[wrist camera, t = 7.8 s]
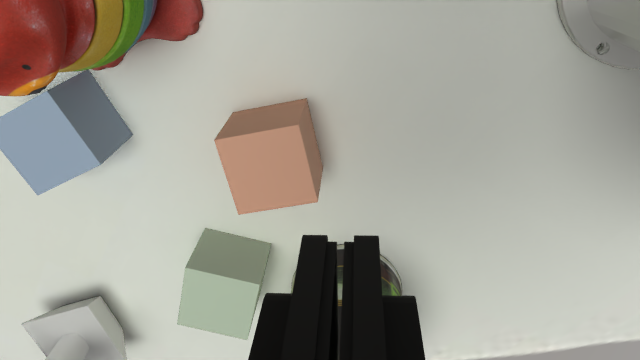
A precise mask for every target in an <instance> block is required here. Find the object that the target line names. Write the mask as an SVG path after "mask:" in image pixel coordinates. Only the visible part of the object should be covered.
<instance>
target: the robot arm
mask: <svg viewBox="0 0 640 360" xmlns="http://www.w3.org/2000/svg"><path fill="white" fill-rule="evenodd" d="M557 4H558V9H559V15H560V18H561V20H562V22H563V25H564V27H565V30H566V31H567V33H568V34H569V36H570V37H571V39H572V40H573V41H574V43H575V44H576V45H577V46H578V47H580V48H581V49H582V50H583V51H584V52H585V53H586V54H588V55H590V56H591V57H593V58H595V59H596V60H598V61H601V62H603V63H606V64H608V65H611V66H613V67H619V68H624V69H640V0H557ZM600 43H601V47H600V48H599V49H596V48H597V46H598V45H599V44H600ZM338 347H339V328H338V273H337V242H328V237H327V235H303V237H302V242H301V247H300V253H299V258H298V264H297V270H296V275H295V281H294V286H293V292H292V294H284V293H267V294H266V295H265V297H264V300H263V304H262V308H261V312H260V316H259V320H258V324H257V327H256V331H255V335H254V339H253V343H252V347H251V351H250V355H249V359H248V360H338ZM339 360H425V355H424V348H423V342H422V335H421V329H420V322H419V316H418V310H417V303H416V298H415V296H391V295H382V281H381V266H380V250H379V236H354V242H344V262H343V285H342V308H341V331H340V354H339Z"/></svg>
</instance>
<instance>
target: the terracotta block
mask: <svg viewBox="0 0 640 360" xmlns="http://www.w3.org/2000/svg"><path fill="white" fill-rule="evenodd" d="M214 141H215V144H216V147H217V150H218V153H219V156H220V159H221V162H222V165H223V169H224V172H225V175H226V178H227V181H228V184H229V187H230V190H231V193H232V196H233V199H234V202H235V205H236V208H237V211H238V215H240V214H246V213H252V212H258V211H265V210H271V209H277V208H283V207H290V206H296V205H302V204H308V203H315V202H318V197H319V190H320V184H321V177H322V170H323V166H322V162H321V158H320V153H319V149H318V145H317V140H316V136H315V132H314V128H313V123H312V119H311V115H310V111H309V106H308V102H307V98H306V99H300V100H295V101H290V102H285V103H280V104H274V105H269V106H264V107H259V108H253V109H248V110H243V111H238V112H233V113H232V115H231V116H230V118H229V119H228V121H227V122H226V124H225V125H224V127H223V128H222V130H221V131H220V132H219V134H218V135H217V137H216V138H215V140H214Z"/></svg>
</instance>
